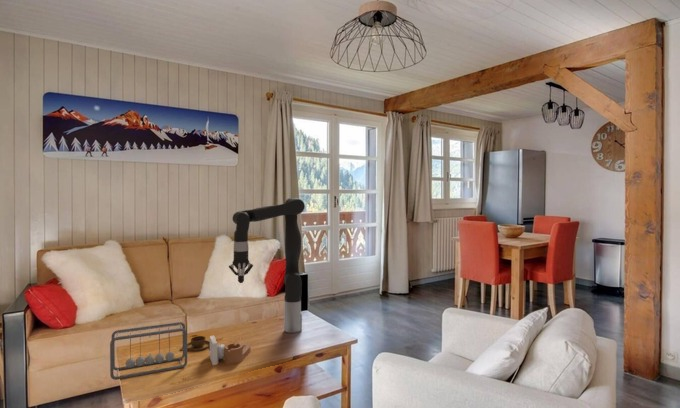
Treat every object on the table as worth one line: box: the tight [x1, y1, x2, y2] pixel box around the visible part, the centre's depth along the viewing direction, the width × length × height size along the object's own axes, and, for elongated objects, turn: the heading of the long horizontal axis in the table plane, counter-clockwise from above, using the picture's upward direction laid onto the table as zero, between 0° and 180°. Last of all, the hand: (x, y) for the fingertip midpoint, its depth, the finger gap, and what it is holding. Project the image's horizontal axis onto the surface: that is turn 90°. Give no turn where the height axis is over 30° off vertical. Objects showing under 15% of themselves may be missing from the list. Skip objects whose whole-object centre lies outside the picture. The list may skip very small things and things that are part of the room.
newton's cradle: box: [109, 321, 188, 381], centre depth 176 cm, size 30×10×18 cm, turn 117°
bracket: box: [224, 342, 252, 365], centre depth 190 cm, size 18×8×7 cm, turn 171°
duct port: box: [209, 335, 225, 366], centre depth 186 cm, size 6×10×10 cm, turn 26°
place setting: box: [179, 335, 210, 352], centre depth 197 cm, size 18×20×6 cm
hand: (240, 282), depth 208 cm, fingers closed
